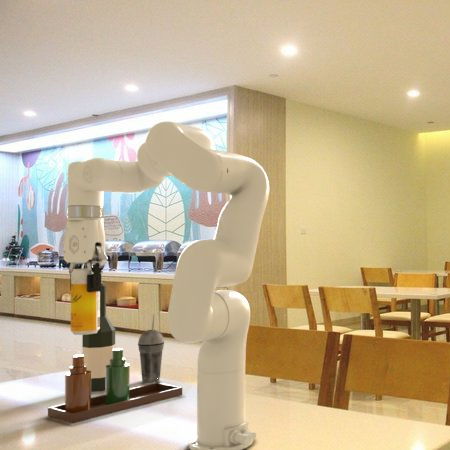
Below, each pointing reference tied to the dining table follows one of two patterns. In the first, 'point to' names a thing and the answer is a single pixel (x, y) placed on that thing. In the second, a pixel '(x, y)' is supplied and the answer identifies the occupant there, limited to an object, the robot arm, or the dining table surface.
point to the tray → (136, 398)
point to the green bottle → (117, 378)
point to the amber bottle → (78, 386)
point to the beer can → (83, 305)
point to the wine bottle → (99, 347)
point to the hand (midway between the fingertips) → (85, 290)
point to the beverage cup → (151, 354)
